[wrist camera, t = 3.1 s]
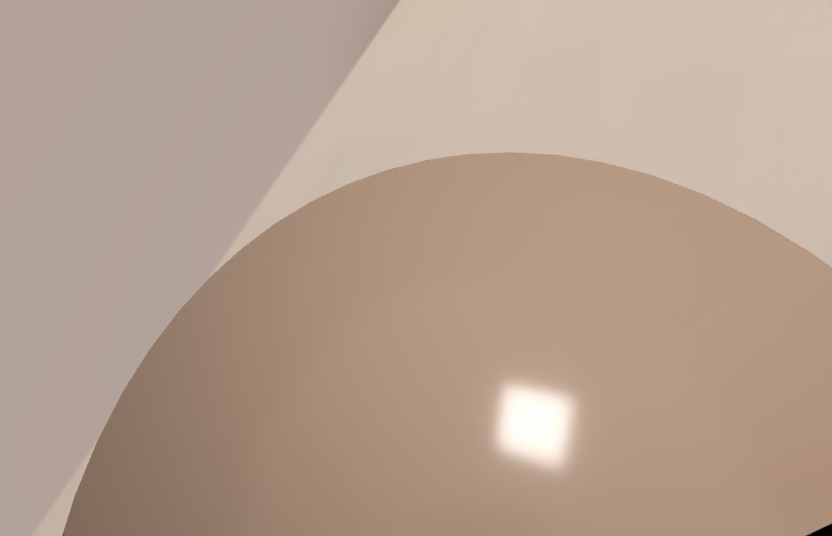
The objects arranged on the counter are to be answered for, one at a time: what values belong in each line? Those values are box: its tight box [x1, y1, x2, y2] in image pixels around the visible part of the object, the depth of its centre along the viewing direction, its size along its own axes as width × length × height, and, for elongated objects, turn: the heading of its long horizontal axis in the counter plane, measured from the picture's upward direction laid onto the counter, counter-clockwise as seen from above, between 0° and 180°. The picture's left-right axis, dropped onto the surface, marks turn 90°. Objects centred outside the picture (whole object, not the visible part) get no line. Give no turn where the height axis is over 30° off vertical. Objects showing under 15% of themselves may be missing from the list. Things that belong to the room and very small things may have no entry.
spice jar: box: [62, 152, 832, 536], centre depth 8 cm, size 5×5×12 cm
